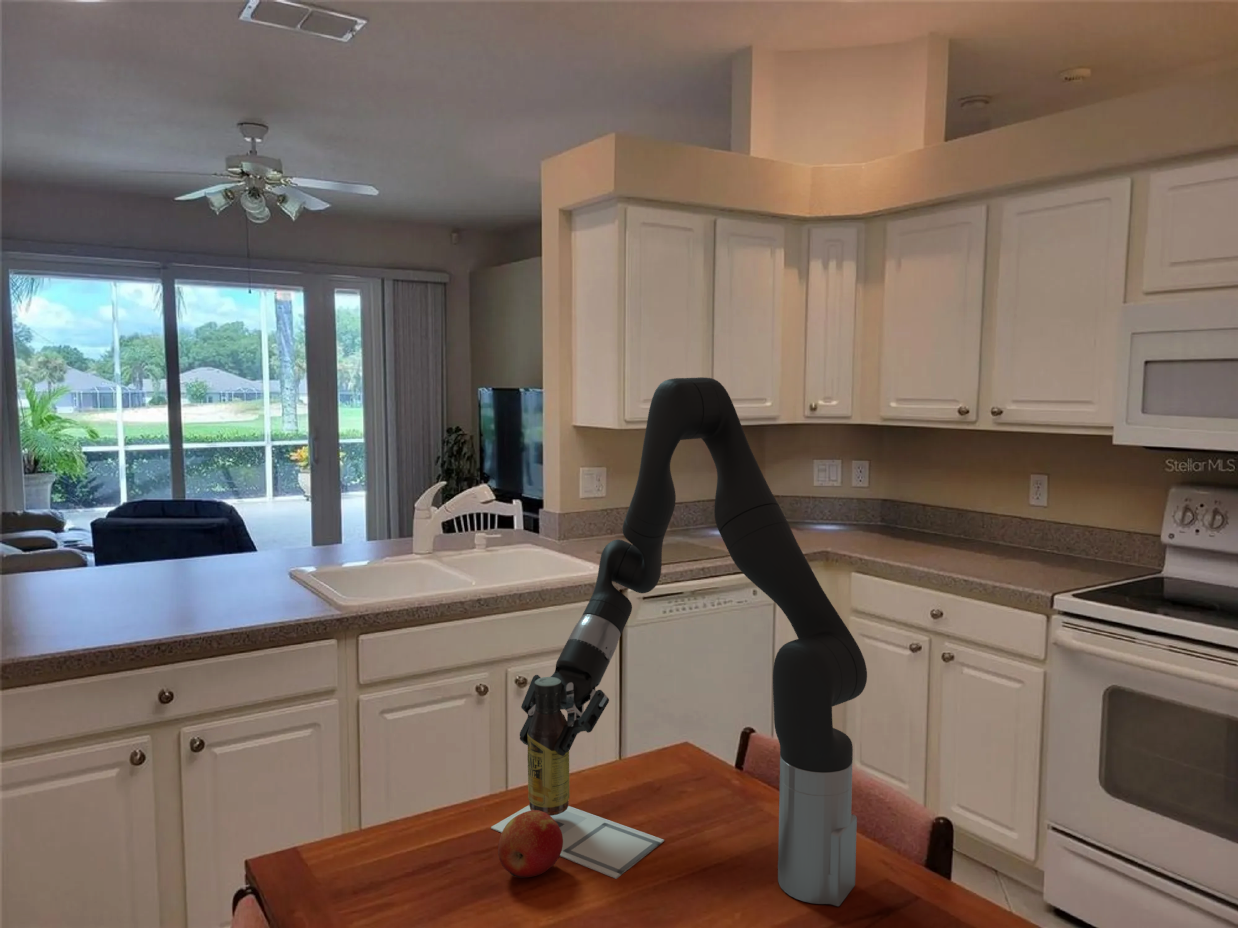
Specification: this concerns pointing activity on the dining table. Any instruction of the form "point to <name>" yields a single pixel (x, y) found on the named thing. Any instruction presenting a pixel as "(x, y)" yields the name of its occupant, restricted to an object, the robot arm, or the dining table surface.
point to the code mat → (597, 841)
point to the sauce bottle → (547, 751)
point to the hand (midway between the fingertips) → (541, 747)
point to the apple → (530, 844)
